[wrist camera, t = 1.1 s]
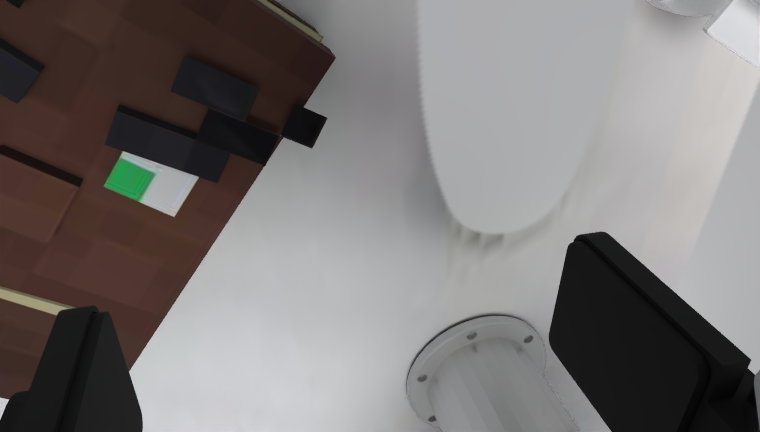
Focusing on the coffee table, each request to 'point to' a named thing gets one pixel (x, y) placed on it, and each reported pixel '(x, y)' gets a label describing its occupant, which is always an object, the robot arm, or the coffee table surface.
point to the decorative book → (133, 151)
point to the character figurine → (724, 22)
